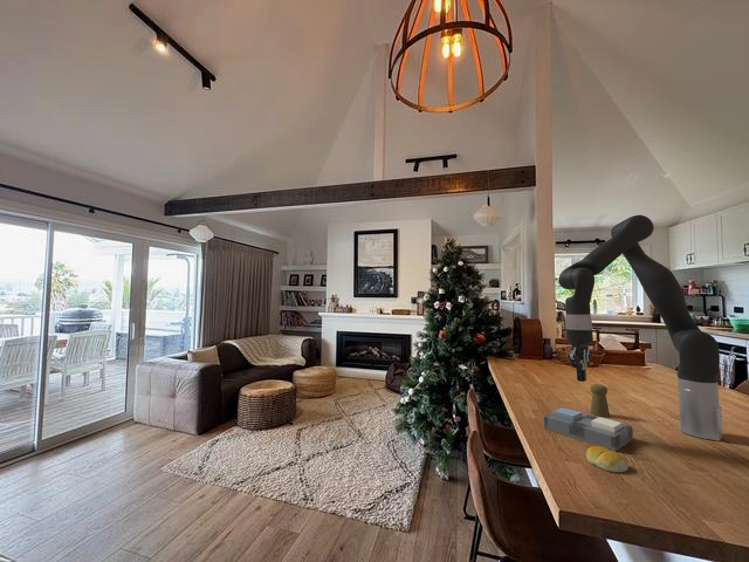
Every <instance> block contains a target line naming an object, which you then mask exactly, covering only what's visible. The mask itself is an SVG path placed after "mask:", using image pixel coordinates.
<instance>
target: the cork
mask: <svg viewBox="0 0 749 562" xmlns="http://www.w3.org/2000/svg"><path fill="white" fill-rule="evenodd" d="M590 391H591V392H592V397H591V398H592V399H591V407H590V415H592V414H593V415H592V416H595V417H598V416H599V417H602V418H610V417H611V415H610V410H609V405H608V401H607V400H608V399H607V394H608V387H607V386H606V385H603V384H599V383H597V384H592V385H590Z"/></svg>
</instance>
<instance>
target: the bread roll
mask: <svg viewBox="0 0 749 562" xmlns="http://www.w3.org/2000/svg"><path fill="white" fill-rule="evenodd" d="M585 453H586V454H585V457H586V460H587V462H589V463H590V464H591V465H593V466H596V467H597V468H598V469H600V470H603V471H606V472H610V473H624V472H627V471H628V470H629V462H628V460H627V459H626V458H625V457H624V456H622V455H621V454H620V453H619V452H618V451H616V452H615V451H612V450H609V449H607V448H605V447H601V446H596V445H594V446H591V447H589V448H587V450H586V452H585Z"/></svg>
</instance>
